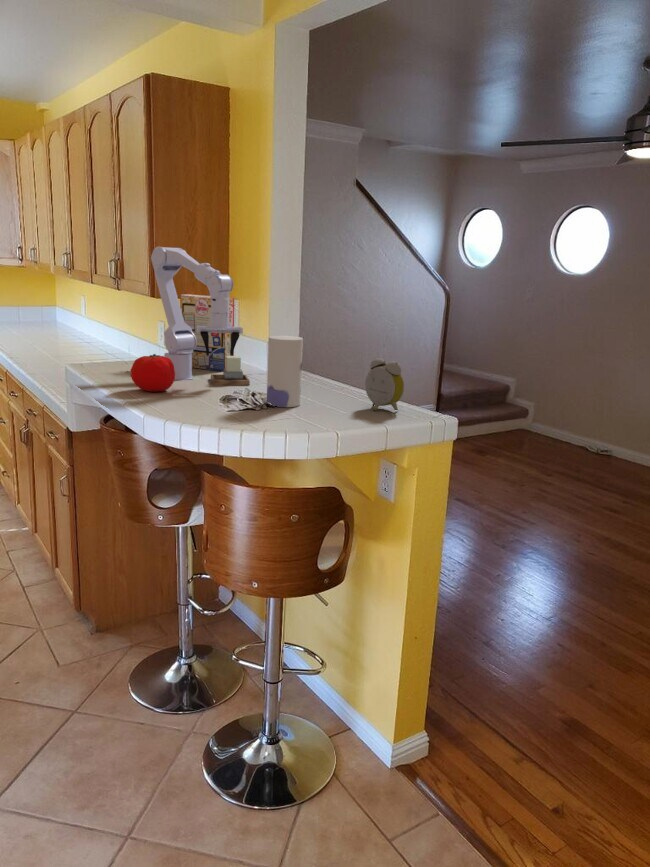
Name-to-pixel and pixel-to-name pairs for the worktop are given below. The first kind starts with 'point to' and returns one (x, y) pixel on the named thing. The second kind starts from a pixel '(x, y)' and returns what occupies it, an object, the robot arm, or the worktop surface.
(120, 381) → the worktop surface
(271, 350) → the container
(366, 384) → the alarm clock
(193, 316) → the cereal box
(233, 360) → the beige cube
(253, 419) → the worktop surface
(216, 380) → the brown wooden tray
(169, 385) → the tomato
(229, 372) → the grey block
